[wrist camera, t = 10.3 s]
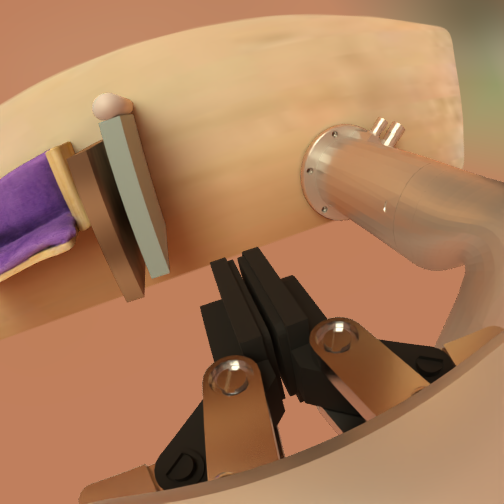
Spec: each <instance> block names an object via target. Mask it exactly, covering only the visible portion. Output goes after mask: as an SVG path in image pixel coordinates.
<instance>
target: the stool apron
mask: <svg viewBox="0 0 504 504" xmlns="http://www.w3.org/2000/svg"><path fill="white" fill-rule="evenodd" d="M67 162H68V165H69V168H70V171H71V174H72V177H73V180H74V183H75V185H76V188H77V191H78V193H79V196H80V199H81V201H82V204H83V207H84V209H85V212H86V214H87V217H88V219H89V222H90V224H91V226H92V229H93V231H94V233H95V236H96V238H97V240H98V243H99V245H100V247H101V250H102V252H103V254H104V256H105V258H106V261H107V263H108V265H109V267H110V269H111V271H112V273H113V275H114V277H115V279H116V282H117V284H118V286H119V288H120V290H121V292H122V294H123V296H124V297H125V299H126V301H127V302H130V301H133V300H136V299H140V298H143V297H144V290H145V261H144V258H143V256H142V253H141V251H140V248H139V245H138V243H137V240H136V238H135V235H134V232H133V230H132V227H131V224H130V221H129V219H128V216H127V213H126V210H125V207H124V204H123V202H122V199H121V196H120V193H119V190H118V187H117V184H116V181H115V177H114V174H113V171H112V168H111V165H110V162H109V158H108V155H107V152H106V148H105V145H104V141H103V140H100V141H98V142H96V143H94V144H92V145H90V146H89V147H87V148H85V149H83V150H81V151H80V152H78V153H76V154H74V155H73V156H71V157H69V158H67Z"/></svg>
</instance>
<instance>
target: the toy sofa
mask: <svg viewBox="0 0 504 504" xmlns="http://www.w3.org/2000/svg"><path fill="white" fill-rule="evenodd" d="M74 154H75V153H74V150H73V147H72V145H71V143H70V142H66V143H64V144H62V145H59V146H56V147H54V148H52V149H49V150H48V151H46V152H44V153H42V154H40V155H38V156H37V157H35V158H33V159H31V160H30V161H28V162H26V163H24V164H23V165H21V166H19V167H18V168H16V169H14V170H13V171H11V172H10V173H8V174H7V175H5V176H4V177H3V178H1V179H0V282H1V281H3V280H5V279H7V278H9V277H11V276H13V275H14V274H16V273H18V272H20V271H22V270H24V269H26V268H28V267H30V266H32V265H34V264H36V263H38V262H40V261H42V260H44V259H47V258H50V257H53V256H56V255H59V254H61V253H64V252H66V251H68V250H70V249H71V248H72V247H73V246H74V245H75V242H76V236H77V235H78V233H79V231H84V230H86V229H88V228H89V227H91V224H90V222H89V219H88V217H87V214H86V212H85V209H84V207H83V204H82V201H81V199H80V196H79V193H78V191H77V188H76V185H75V183H74V180H73V177H72V174H71V171H70V168H69V165H68V162H67V158H69V157H71V156H73V155H74Z"/></svg>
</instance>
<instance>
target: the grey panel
mask: <svg viewBox="0 0 504 504" xmlns="http://www.w3.org/2000/svg"><path fill="white" fill-rule="evenodd" d="M132 110H133V103H132V102H131V100H129V99H127V98H124V97H121V96H118V95H115V94H112V93H103V94H100V95H99V96H98V97H97V98H96V99H95V100H94V102H93V105H92V111H93V114H94V115H95V117H96V118H98V119H100V120H106V121H103V122H101V123H99V127H100V130H101V134H102V138H103V141H104V145H105V148H106V152H107V155H108V158H109V162H110V165H111V168H112V171H113V174H114V177H115V181H116V184H117V187H118V190H119V193H120V196H121V199H122V202H123V204H124V207H125V210H126V213H127V216H128V219H129V221H130V224H131V227H132V230H133V232H134V235H135V238H136V240H137V243H138V245H139V248H140V251H141V253H142V256H143V258H144V261H145V263H146V266H147V268H148V271H149V273H150V275H151V278H156V277H159V276H162V275H165V274H168V273H170V268H169V258H168V246H167V234H166V224H165V221H164V218H163V215H162V212H161V209H160V205H159V202H158V199H157V196H156V193H155V189H154V186H153V183H152V179H151V176H150V173H149V169H148V166H147V162H146V159H145V155H144V152H143V148H142V145H141V141H140V137H139V134H138V130H137V126H136V122H135V118H134V115H133V114H131V112H132Z"/></svg>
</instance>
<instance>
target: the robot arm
mask: <svg viewBox="0 0 504 504" xmlns="http://www.w3.org/2000/svg"><path fill="white" fill-rule="evenodd" d="M387 124H388V123H387V121H386V120H385V119H383V118H381V117H378V119H377V120H376V122H375V123H374V126H373V128H372V129H371V131H370V130H368V131H367V130H366V129H364V128H362V127H359V126H355V125H349V124H341V125H335V126H333V127H330V128H328V129H326V130H325V131H323V132H322V133H320V134H319V135H318V136H317V137H316V138H315V139H314V140H313V141H312V143H311V144H310V146H309V147H308V149H307V151H306V153H305V155H304V158H303V162H302V166H301V186H302V190H303V193H304V196H305V198H306V199H307V201H308V203H309V204H310V205H311V207H312V208H313V209H314V210H316V211H317V212H318V213H319V214H321V215H323V216H324V217H326V218H329V219H332V220H340V221H342V220H349V219H351V220H352V221H354V222H355V223H357V224H358V225H359V226H361V227H362V228H364V229H365V230H367V231H368V232H370V233H371V234H373V235H374V236H376V237H377V238H378V239H380V240H381V241H383V242H384V243H386V244H387V245H388V246H390V247H391V248H393V249H394V250H395V251H397V252H398V253H400V254H401V255H402V256H404V257H405V258H407V259H408V260H409V261H411V262H412V263H414V264H416V265H417V266H419V267H422V268H424V269H428V270H433V271H441V270H447V269H452V268H456V267H459V266H462V265H465V276H464V279H463V282H462V285H461V287H460V291H459V294H458V296H457V298H456V301H455V303H454V306H453V308H452V310H451V312H450V314H449V317H448V319H447V321H446V323H445V325H444V327H443V330H442V332H441V334H440V336H439V338H438V340H437V342H436V345H435V347H430V346H422V345H414V344H407V343H399V342H392V341H385V340H378V339H377V338H376V337H374V336H373V335H372V334H371V333H369V332H368V331H367V330H366V329H365V328H364V327H362V326H361V325H360V324H359V323H357V322H356V321H353V320H351V319H348V318H344V317H335V318H329V319H327V318H326V317H325V315H324V314H323V313H322V311H321V310H320V309H319V307H318V306H317V305H316V304H315V302H314V301H313V300H312V299H311V297H310V296H309V295H308V293H307V292H306V291H305V289H304V288H303V287H302V285H301V284H300V283H299V282H298V280H297V279H296V278H295V277H294V276H293V275H291V276H288V277H285V278H282V279H280V278H279V276H278V275H277V273H276V272H275V271H274V269H273V268H272V266H271V265H270V264H269V262H268V260H267V259H266V258H265V256H264V255H263V253H262V252H261V251H260V249H259V248H258V247H256V248H253V249H249V250H246V251H243V252H242V257H239V258H238V263H239V267H240V271H241V275H242V277H241V275H240V273H239V271H238V269H237V267H236V265H235V263H234V261H233V260H230V261H227V260H226V258H222V259H219V260H216V261H213V262H210V265H211V268H212V271H213V274H214V277H215V280H216V283H217V286H218V289H219V292H220V295H221V298H222V299H221V300H218V301H215V302H212V303H209V304H206V305H203V306H201V307H200V309H201V313H202V317H203V321H204V325H205V329H206V333H207V336H208V340H209V344H210V348H211V351H212V355H213V359H214V363H213V364H212V365H211V366H210V367H209V368H208V369H207V370H206V372H205V374H204V376H203V382H202V385H203V386H202V387H203V400H202V401H201V403H200V404H199V405H198V407H197V408H196V409H195V411H194V412H193V413H192V415H191V416H190V417H189V419H188V420H187V421H186V423H185V424H184V425H183V426H182V428H181V429H180V431H179V432H178V433H177V434H176V436H175V437H174V438H173V439H172V441H171V442H170V443H169V445H168V446H167V447H166V449H165V450H164V451H163V452H162V453H161V455H160V456H159V458H158V460H157V461H156V463H155V464H152V465H150V466H147V465H146V464H144V465H141V466H139V467H136V468H134V469H131V470H129V471H126V472H123V473H121V474H118V475H115V476H113V477H110V478H107V479H104V480H101V481H99V482H96V483H92V484H90V485H88V486H86V487H85V488H84V489H83V490H82V492H81V493H80V497H79V504H504V182H500V181H497V180H493V179H489V178H486V177H483V176H480V175H477V174H474V173H471V172H468V171H465V170H462V169H459V168H456V167H454V166H451V165H448V164H445V163H442V162H439V161H436V160H433V159H430V158H427V157H424V156H421V155H417V154H414V153H411V152H407V151H404V150H401V149H397V148H394V146H395V144H396V143H397V141H399V139H400V138H401V136H402V134H403V133H404V131H405V128H404V127H403V126H402V125H401V124H399V123H397V122H395V121H394V122H392V124H391V125H390V127H389V128H388V130H387V132H386V134H385V136H384V138H383V139H380V138H379V136H380V134H381V132H382V131H383V130H384V129H385V127H386V126H387ZM332 132H333V135H332ZM307 169H309V170H308V171H307ZM242 278H243V279H242ZM280 377H281V378H280ZM281 379H282V381H283V383H284V385H285V387H286V389H287V391H288V393H289V395H290V396H293V395H295V394H296V395H297V397H298V399H299V401H300V402H303V401H305V403H307V404H312V405H316V406H317V409H318V410H319V412H320V414H321V415H322V416H323V417H324V418H325V420H326V421H327V422H328V423H329V425H330V426H331V427H332V428H333V429H334V430H335V432H336V433H337V434H338V436H336V437H334V438H332V439H330V440H327V441H325V442H323V443H321V444H318V445H316V446H314V447H311V448H309V449H306V450H304V451H301V452H299V453H296V454H294V455H291V456H288V457H285V454H284V451H283V446H282V442H281V437H280V433H279V429H278V423H279V421H280V420H281V418H282V416H283V414H284V412H285V409H284V405H283V401H282V400H283V399H285V394H284V390H283V386H282V382H281Z"/></svg>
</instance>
